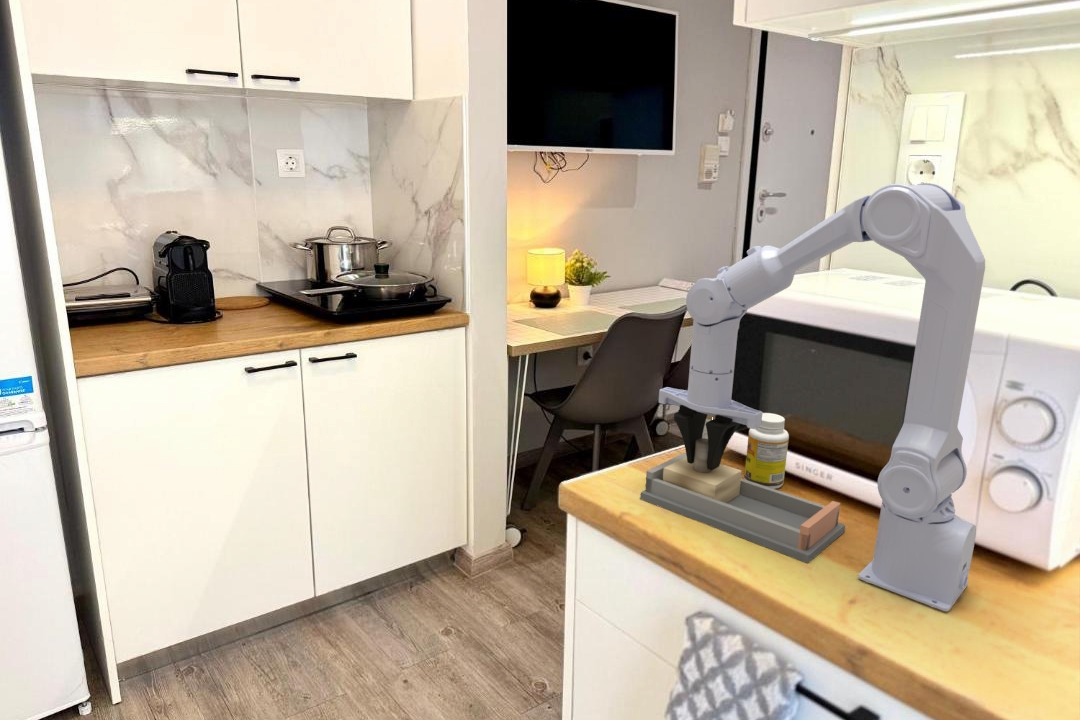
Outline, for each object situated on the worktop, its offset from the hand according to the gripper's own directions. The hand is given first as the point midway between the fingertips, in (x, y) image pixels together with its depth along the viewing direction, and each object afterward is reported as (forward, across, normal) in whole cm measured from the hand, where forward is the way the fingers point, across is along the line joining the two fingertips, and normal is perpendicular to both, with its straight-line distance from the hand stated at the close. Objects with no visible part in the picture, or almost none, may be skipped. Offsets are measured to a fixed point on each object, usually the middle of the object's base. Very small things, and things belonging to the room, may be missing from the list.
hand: (703, 464), depth 103 cm
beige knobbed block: (+4, 0, 0) cm, 4 cm away
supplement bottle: (+6, -3, -12) cm, 14 cm away
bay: (+5, -6, 0) cm, 8 cm away
